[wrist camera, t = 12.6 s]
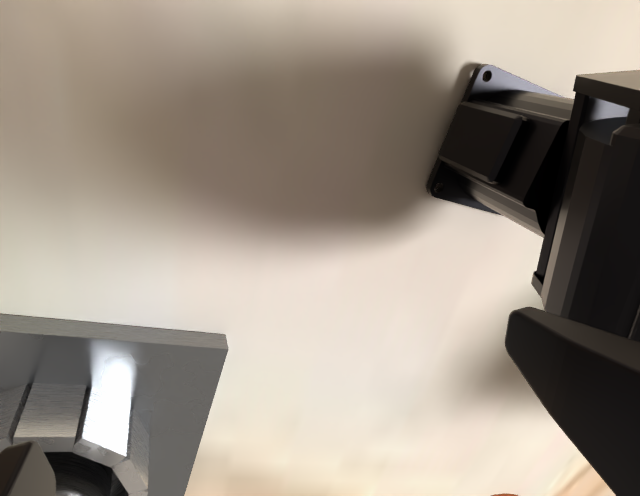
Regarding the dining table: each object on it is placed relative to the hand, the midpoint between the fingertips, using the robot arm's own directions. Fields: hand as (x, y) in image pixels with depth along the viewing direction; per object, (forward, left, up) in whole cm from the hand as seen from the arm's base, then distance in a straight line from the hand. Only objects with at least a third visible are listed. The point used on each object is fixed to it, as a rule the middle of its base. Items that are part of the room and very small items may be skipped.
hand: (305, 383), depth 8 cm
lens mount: (+5, +15, -13) cm, 20 cm away
